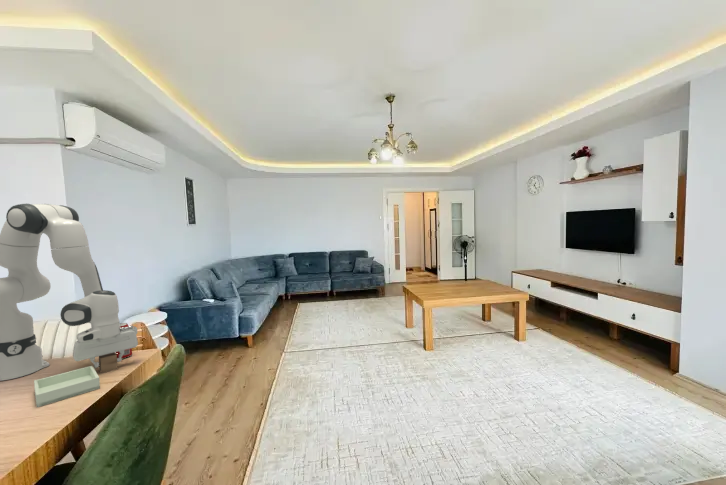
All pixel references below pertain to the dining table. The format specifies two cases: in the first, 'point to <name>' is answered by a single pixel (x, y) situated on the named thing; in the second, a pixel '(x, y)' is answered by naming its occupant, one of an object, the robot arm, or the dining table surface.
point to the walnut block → (108, 362)
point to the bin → (65, 385)
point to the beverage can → (128, 351)
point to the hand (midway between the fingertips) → (108, 364)
